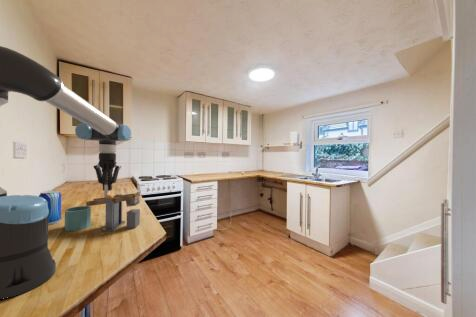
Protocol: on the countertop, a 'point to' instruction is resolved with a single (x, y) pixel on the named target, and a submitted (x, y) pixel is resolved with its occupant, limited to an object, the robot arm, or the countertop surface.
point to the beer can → (53, 205)
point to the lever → (118, 200)
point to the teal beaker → (77, 218)
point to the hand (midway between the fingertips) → (107, 196)
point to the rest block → (133, 218)
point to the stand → (113, 214)
